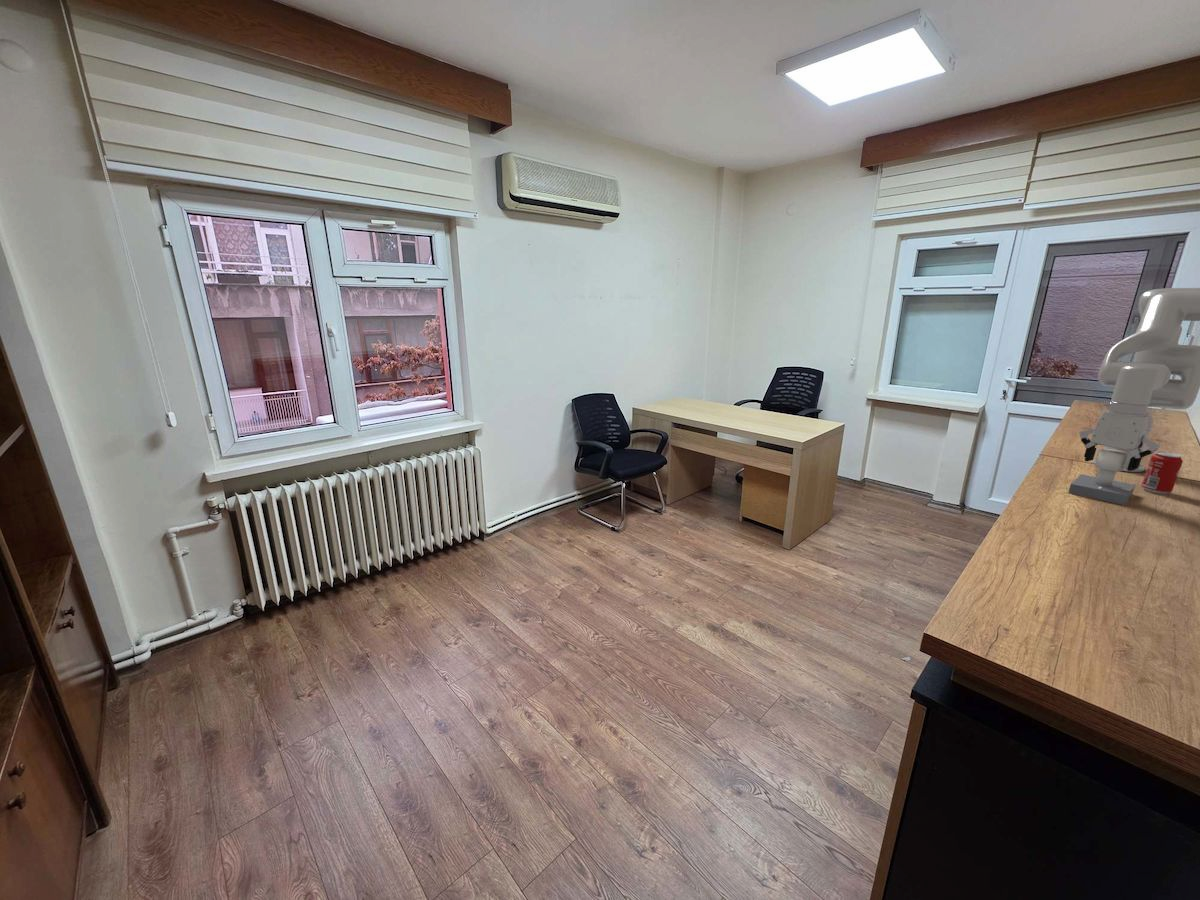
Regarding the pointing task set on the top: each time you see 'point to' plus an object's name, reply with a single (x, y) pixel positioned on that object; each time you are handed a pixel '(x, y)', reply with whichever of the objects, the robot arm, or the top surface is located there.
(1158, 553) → the top surface
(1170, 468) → the beverage can
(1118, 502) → the stub base
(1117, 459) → the white rounded dome
